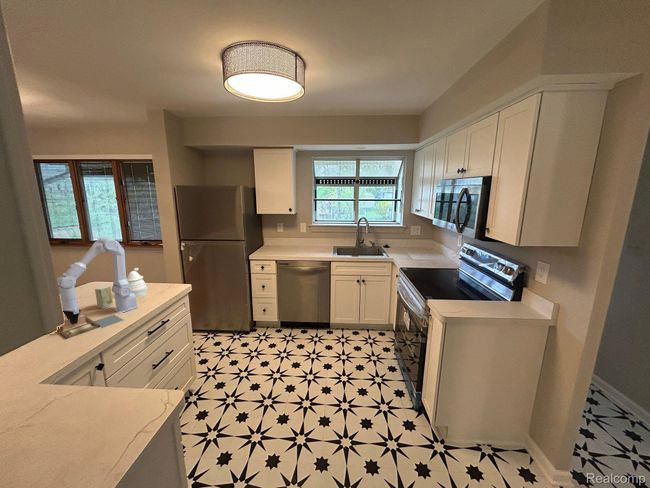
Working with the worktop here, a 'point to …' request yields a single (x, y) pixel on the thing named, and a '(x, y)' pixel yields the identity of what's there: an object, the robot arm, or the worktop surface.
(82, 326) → the offcut upper
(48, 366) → the worktop surface
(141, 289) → the honey pot
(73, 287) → the robot arm
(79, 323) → the dusty pink block
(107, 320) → the slate mat
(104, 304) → the skincare box
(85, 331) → the walnut rack
